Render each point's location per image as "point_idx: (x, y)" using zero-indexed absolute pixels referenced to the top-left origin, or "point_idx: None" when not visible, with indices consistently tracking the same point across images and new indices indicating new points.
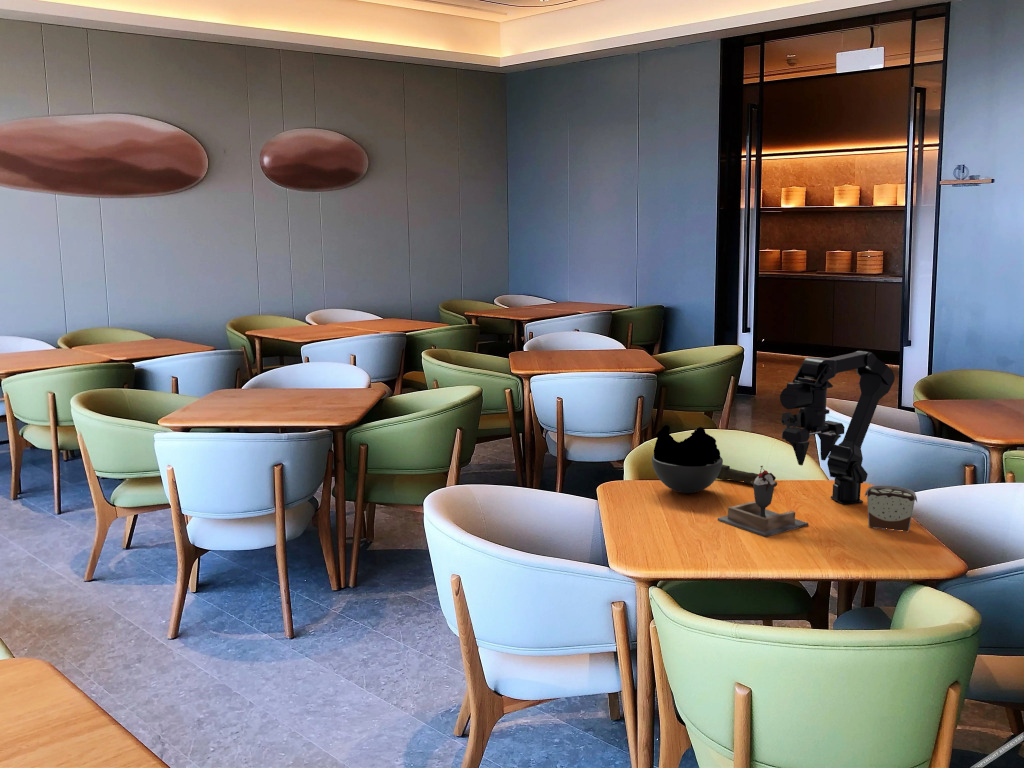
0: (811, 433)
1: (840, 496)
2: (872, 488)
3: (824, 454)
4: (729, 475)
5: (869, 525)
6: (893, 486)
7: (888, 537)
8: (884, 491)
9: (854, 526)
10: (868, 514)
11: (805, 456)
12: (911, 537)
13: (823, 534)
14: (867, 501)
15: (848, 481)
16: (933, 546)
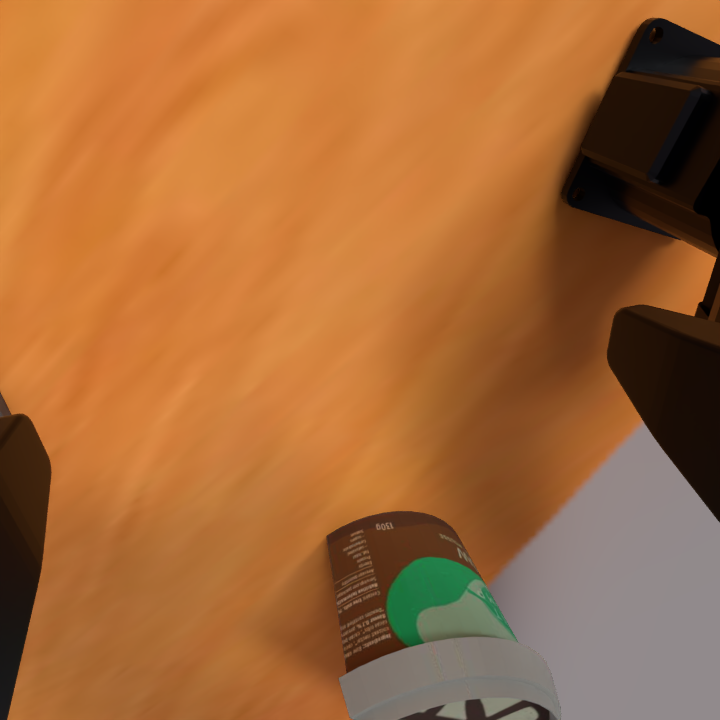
0: None
1: (607, 173)
2: (437, 691)
3: (674, 416)
4: None
5: (329, 546)
6: (550, 711)
7: (295, 633)
8: (460, 713)
9: (275, 509)
10: (335, 590)
11: (11, 683)
12: None
13: None
14: (344, 656)
15: (717, 254)
16: None
